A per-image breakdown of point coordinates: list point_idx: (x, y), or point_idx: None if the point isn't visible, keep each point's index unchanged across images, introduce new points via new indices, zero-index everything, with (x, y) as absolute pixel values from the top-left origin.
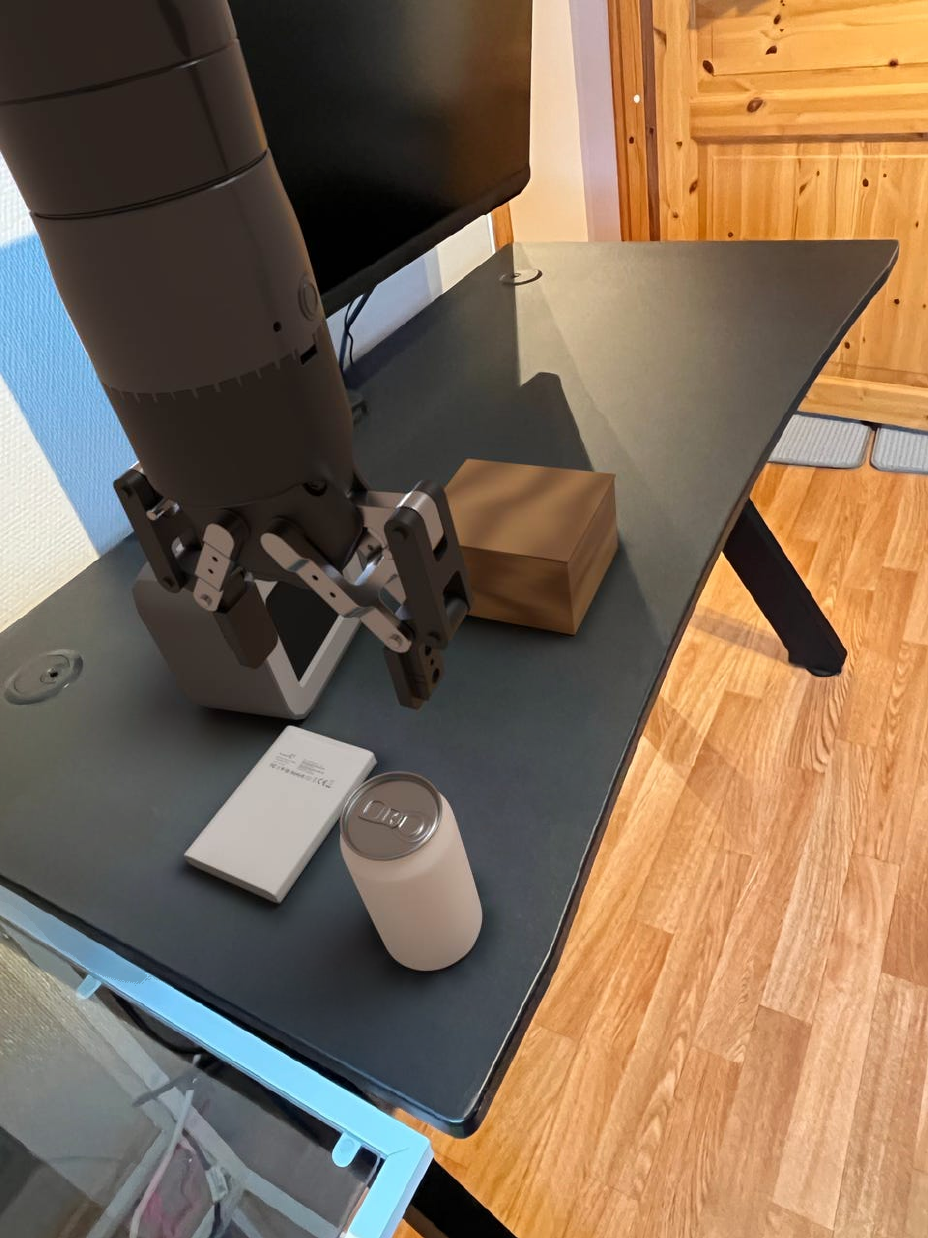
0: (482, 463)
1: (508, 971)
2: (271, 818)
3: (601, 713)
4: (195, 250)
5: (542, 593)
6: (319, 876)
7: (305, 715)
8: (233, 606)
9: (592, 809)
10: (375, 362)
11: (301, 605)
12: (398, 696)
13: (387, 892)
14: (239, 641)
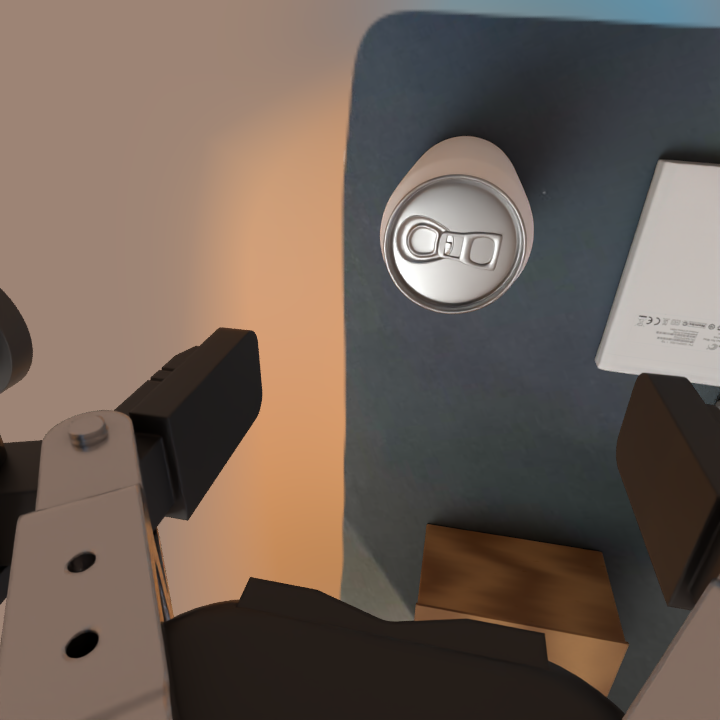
0: None
1: (369, 169)
2: (710, 259)
3: (375, 445)
4: None
5: (454, 568)
6: (618, 209)
7: (716, 405)
8: (703, 525)
9: (350, 349)
10: None
11: None
12: (235, 341)
13: (442, 156)
14: (675, 424)
